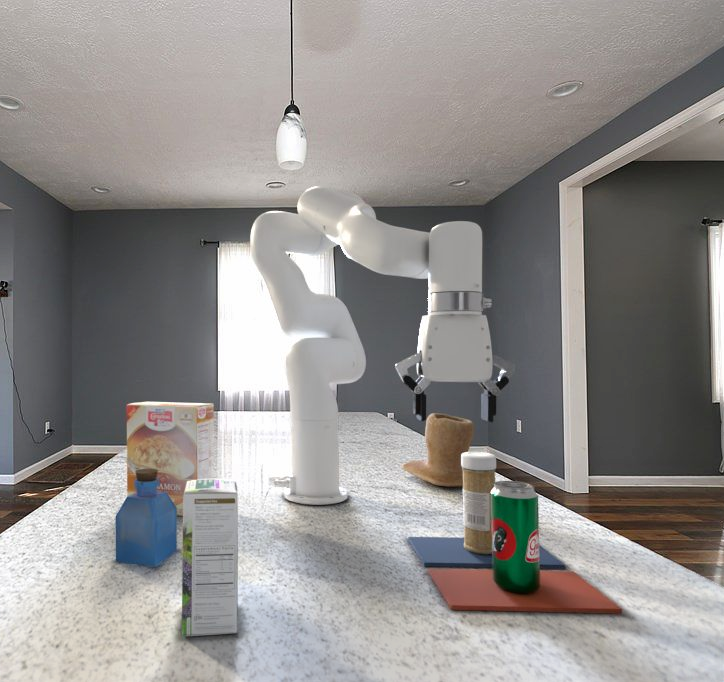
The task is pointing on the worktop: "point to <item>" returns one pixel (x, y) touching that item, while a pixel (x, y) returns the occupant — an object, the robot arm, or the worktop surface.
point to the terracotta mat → (552, 596)
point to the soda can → (515, 537)
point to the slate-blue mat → (463, 554)
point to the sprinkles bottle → (478, 500)
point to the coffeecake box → (170, 445)
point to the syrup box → (210, 557)
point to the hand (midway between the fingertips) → (453, 420)
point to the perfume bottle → (146, 523)
